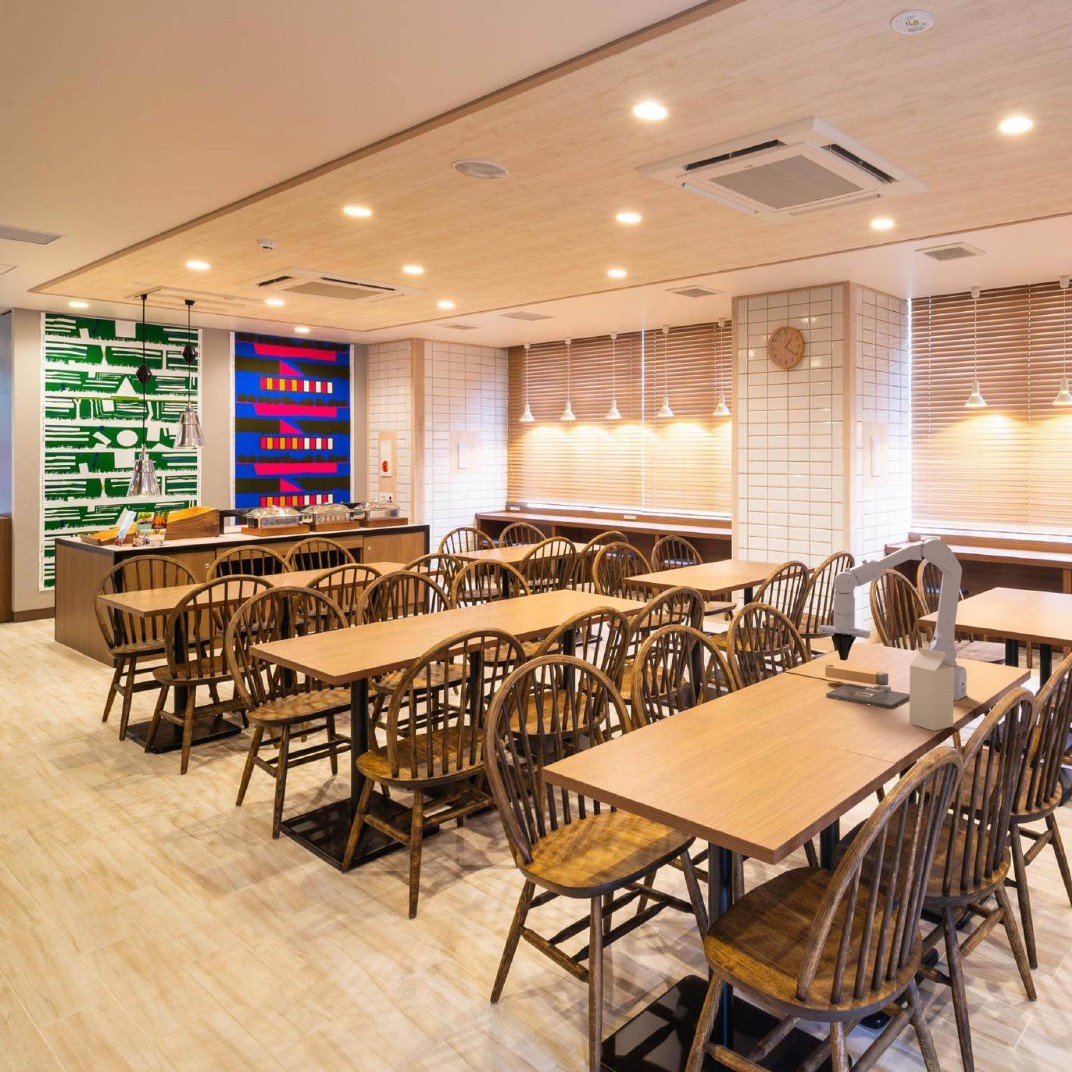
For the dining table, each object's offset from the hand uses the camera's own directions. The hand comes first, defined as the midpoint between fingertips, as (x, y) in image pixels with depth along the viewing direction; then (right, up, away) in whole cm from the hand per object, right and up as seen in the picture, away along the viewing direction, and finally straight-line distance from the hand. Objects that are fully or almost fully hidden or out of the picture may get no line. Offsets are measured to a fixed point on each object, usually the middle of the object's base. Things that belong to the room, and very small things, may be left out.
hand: (843, 659), depth 241 cm
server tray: (+5, -9, -8) cm, 13 cm away
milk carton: (+8, -11, -35) cm, 38 cm away
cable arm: (+4, -6, +2) cm, 8 cm away
